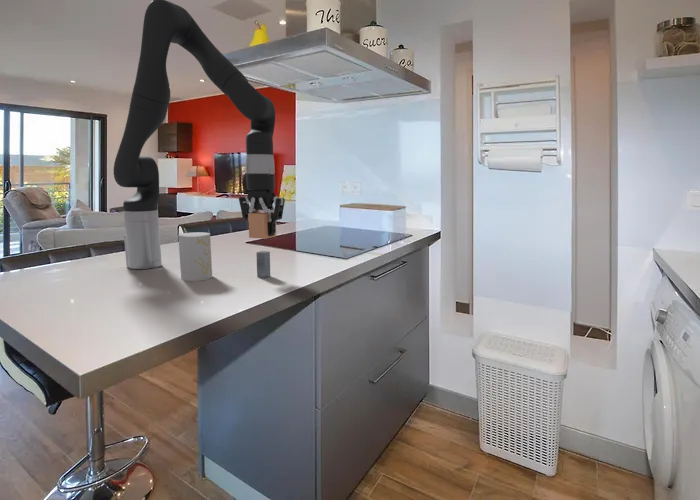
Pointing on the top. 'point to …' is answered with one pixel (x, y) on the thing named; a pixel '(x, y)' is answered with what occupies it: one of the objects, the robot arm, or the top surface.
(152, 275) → the top surface
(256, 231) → the tan cardboard box
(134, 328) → the top surface
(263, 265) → the post
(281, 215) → the robot arm
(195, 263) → the white round cylinder
